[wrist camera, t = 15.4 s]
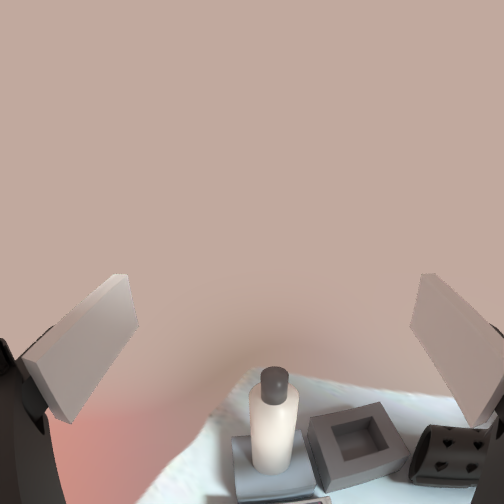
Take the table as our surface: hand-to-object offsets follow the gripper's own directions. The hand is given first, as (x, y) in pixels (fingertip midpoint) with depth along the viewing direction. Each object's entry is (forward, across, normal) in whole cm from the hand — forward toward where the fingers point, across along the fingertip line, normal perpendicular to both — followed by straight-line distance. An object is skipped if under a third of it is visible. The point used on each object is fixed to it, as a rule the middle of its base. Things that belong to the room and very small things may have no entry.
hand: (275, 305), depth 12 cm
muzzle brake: (-3, +32, -31) cm, 45 cm away
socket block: (+13, +13, -35) cm, 39 cm away
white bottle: (+10, 0, -30) cm, 32 cm away
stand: (+10, 0, -35) cm, 36 cm away
